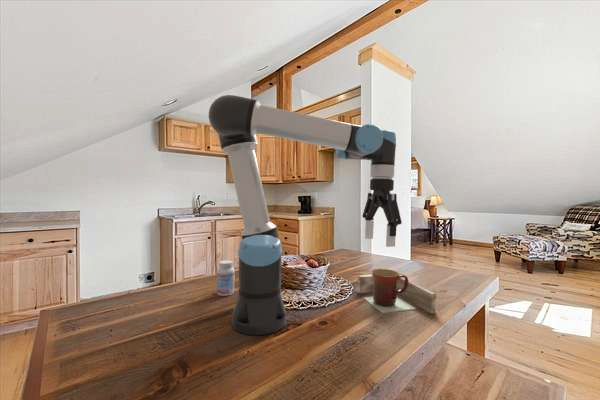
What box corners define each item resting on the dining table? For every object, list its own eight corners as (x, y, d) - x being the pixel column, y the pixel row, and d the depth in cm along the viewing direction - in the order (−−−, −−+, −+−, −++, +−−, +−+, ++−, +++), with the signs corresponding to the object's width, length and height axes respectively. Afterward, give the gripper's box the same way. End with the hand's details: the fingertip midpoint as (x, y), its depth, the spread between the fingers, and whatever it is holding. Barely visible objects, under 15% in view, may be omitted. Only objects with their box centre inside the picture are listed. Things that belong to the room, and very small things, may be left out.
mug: (374, 308, 87) (375, 276, 87) (367, 297, 96) (368, 268, 96) (412, 309, 87) (413, 277, 87) (402, 298, 96) (403, 269, 96)
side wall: (359, 293, 101) (360, 276, 101) (357, 291, 102) (358, 275, 102) (393, 290, 105) (393, 274, 104) (391, 288, 106) (391, 273, 106)
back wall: (431, 313, 85) (431, 294, 85) (391, 289, 106) (391, 273, 105) (435, 312, 86) (435, 293, 86) (394, 289, 106) (395, 273, 106)
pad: (382, 313, 85) (382, 312, 85) (363, 298, 96) (363, 297, 96) (415, 309, 88) (415, 308, 88) (393, 295, 100) (393, 294, 100)
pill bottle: (213, 295, 96) (213, 263, 96) (222, 289, 102) (222, 259, 102) (229, 297, 95) (229, 264, 95) (237, 291, 101) (237, 260, 100)
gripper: (416, 177, 81) (412, 250, 82) (373, 180, 105) (370, 235, 106) (393, 176, 79) (390, 250, 80) (355, 179, 103) (352, 235, 104)
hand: (378, 242), depth 93 cm, fingers open, 13 cm apart
